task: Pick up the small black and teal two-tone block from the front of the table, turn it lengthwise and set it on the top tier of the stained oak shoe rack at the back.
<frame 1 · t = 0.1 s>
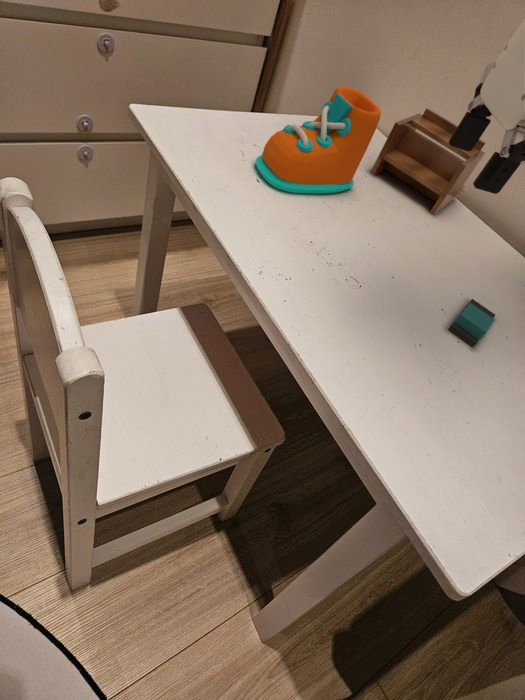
hand: (471, 167, 55), 22 cm above the table, tool pointing down, fingers open, 9 cm apart
toy shoe: (302, 178, 88), on the table
shoe rack: (412, 187, 99), on the table
teal two-tone block: (469, 324, 73), on the table
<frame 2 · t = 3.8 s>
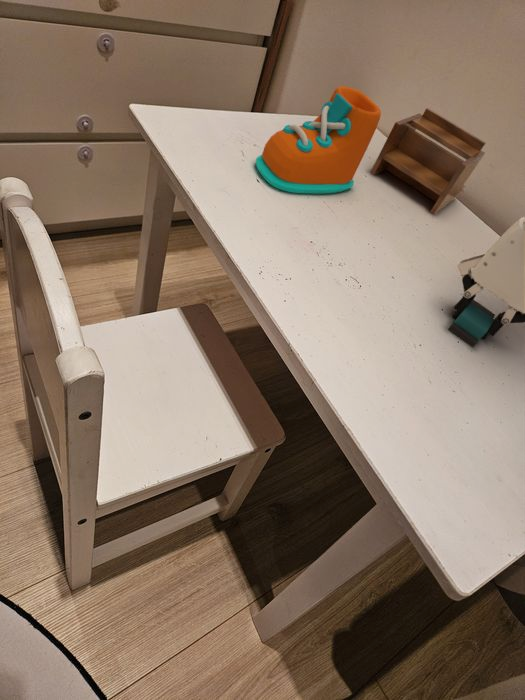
hand: (471, 323, 72), 0 cm above the table, tool pointing down, fingers closed on teal two-tone block, 4 cm apart
teal two-tone block: (469, 324, 73), on the table, touching gripper
everything else where it was.
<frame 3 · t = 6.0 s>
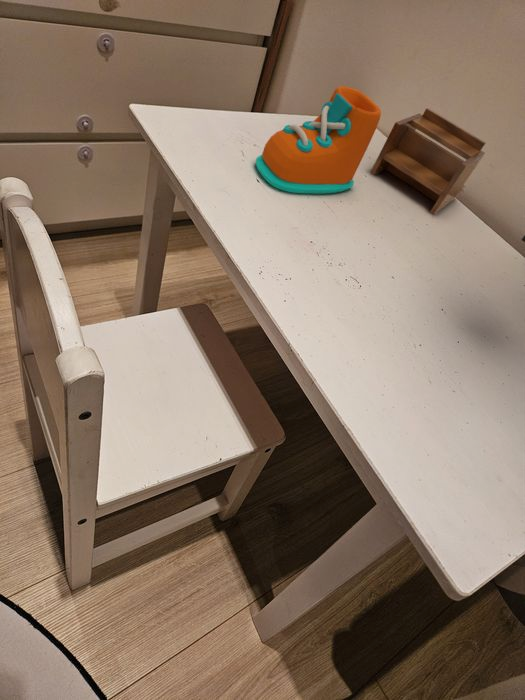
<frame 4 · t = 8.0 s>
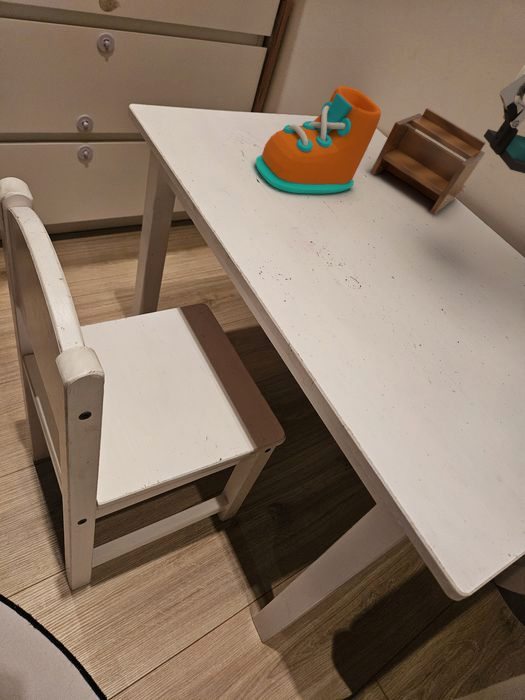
hand: (509, 153, 70), 19 cm above the table, tool pointing down, fingers closed on teal two-tone block, 4 cm apart
teal two-tone block: (507, 155, 71), point 19 cm above the table, touching gripper
everything else where it was.
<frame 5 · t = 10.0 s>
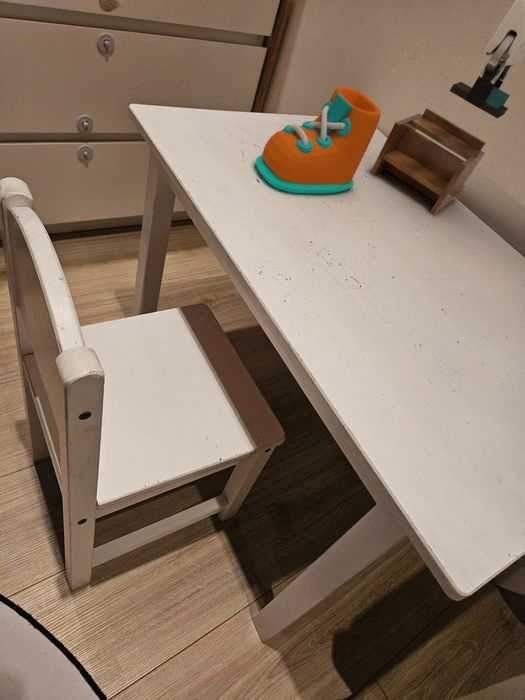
hand: (477, 101, 84), 19 cm above the table, tool pointing down, fingers closed on teal two-tone block, 4 cm apart
teal two-tone block: (476, 103, 84), point 19 cm above the table, touching gripper
everything else where it was.
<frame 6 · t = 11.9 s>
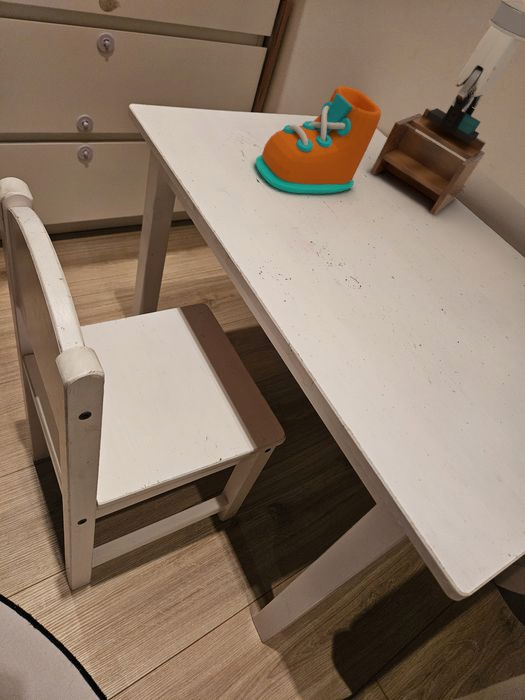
hand: (451, 126, 91), 13 cm above the table, tool pointing down, fingers closed on teal two-tone block, 4 cm apart
teal two-tone block: (450, 128, 92), point 12 cm above the table, touching gripper
everything else where it was.
when the fingers open (13 cm above the table, at t = 12.3 s): teal two-tone block drops 1 cm, resting on shoe rack.
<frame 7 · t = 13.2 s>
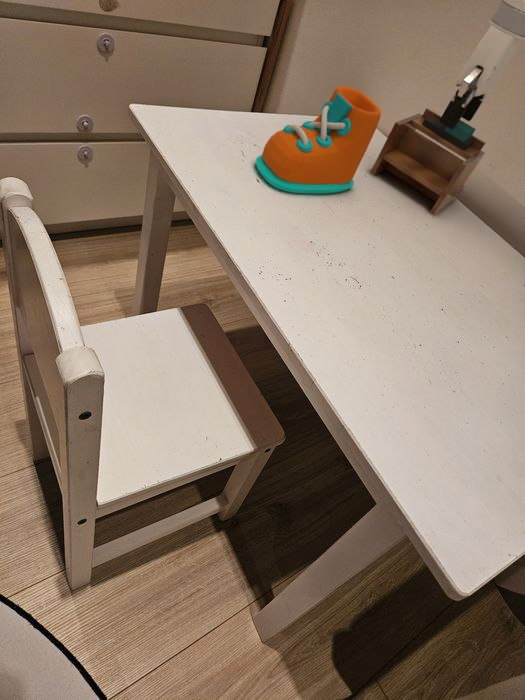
hand: (455, 121, 91), 14 cm above the table, tool pointing down, fingers open, 9 cm apart
teal two-tone block: (446, 135, 93), point 11 cm above the table, touching shoe rack
everything else where it was.
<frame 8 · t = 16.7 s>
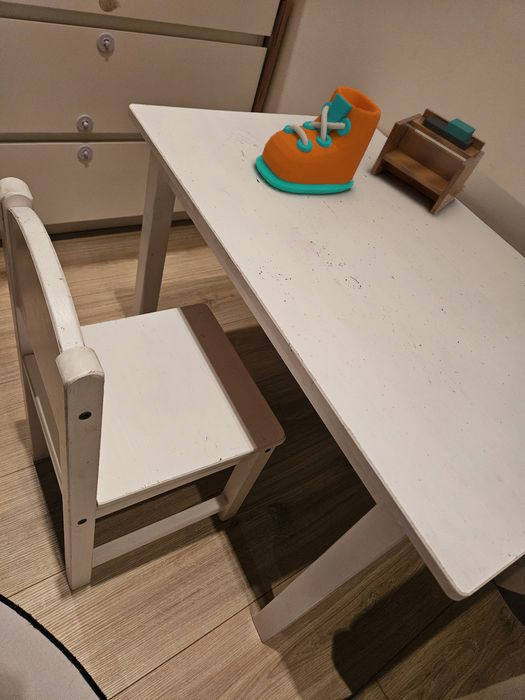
nothing on the table moved.
at the end: teal two-tone block inside the target area on the shoe rack (0.0 cm from its centre), point 11.0 cm above the shoe rack's base; teal two-tone block tilted 0°; the gripper is holding nothing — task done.
